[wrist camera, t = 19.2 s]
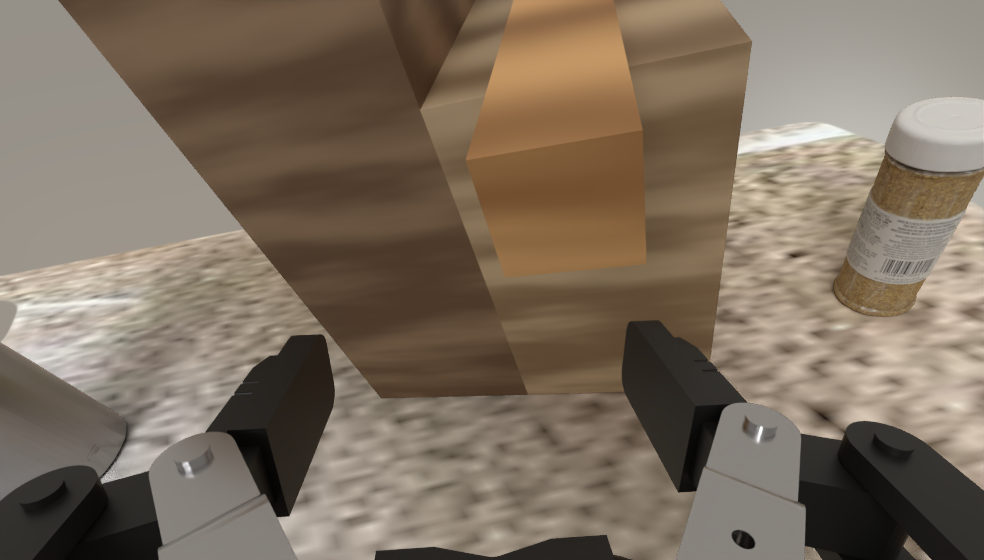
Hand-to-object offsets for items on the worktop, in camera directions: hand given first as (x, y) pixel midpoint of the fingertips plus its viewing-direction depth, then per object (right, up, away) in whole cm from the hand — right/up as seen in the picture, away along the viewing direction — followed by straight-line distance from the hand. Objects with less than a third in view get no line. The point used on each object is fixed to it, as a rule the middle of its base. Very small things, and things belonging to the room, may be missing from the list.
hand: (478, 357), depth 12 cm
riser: (+4, 0, +27) cm, 27 cm away
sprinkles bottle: (+27, +1, +20) cm, 33 cm away
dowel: (+4, +12, +7) cm, 14 cm away
